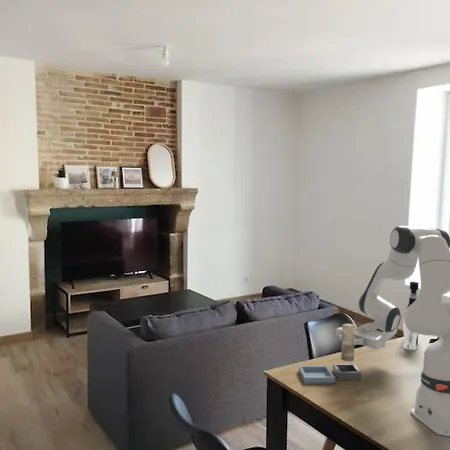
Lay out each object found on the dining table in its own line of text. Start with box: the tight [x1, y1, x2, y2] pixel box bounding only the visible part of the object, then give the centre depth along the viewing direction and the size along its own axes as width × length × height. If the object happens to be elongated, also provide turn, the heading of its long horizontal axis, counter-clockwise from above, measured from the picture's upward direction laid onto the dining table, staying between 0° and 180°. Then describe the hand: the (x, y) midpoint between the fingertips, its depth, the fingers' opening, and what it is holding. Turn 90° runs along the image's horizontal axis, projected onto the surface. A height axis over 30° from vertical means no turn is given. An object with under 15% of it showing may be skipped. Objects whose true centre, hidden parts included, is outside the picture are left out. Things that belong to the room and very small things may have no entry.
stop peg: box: [340, 323, 356, 362], centre depth 202 cm, size 5×5×14 cm
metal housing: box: [332, 363, 362, 381], centre depth 204 cm, size 9×9×3 cm
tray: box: [298, 365, 336, 385], centre depth 201 cm, size 12×12×2 cm
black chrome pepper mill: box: [406, 281, 419, 345], centre depth 244 cm, size 6×6×30 cm
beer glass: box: [402, 319, 419, 351], centre depth 236 cm, size 7×7×15 cm
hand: (346, 340), depth 202 cm, fingers closed on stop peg, 5 cm apart
